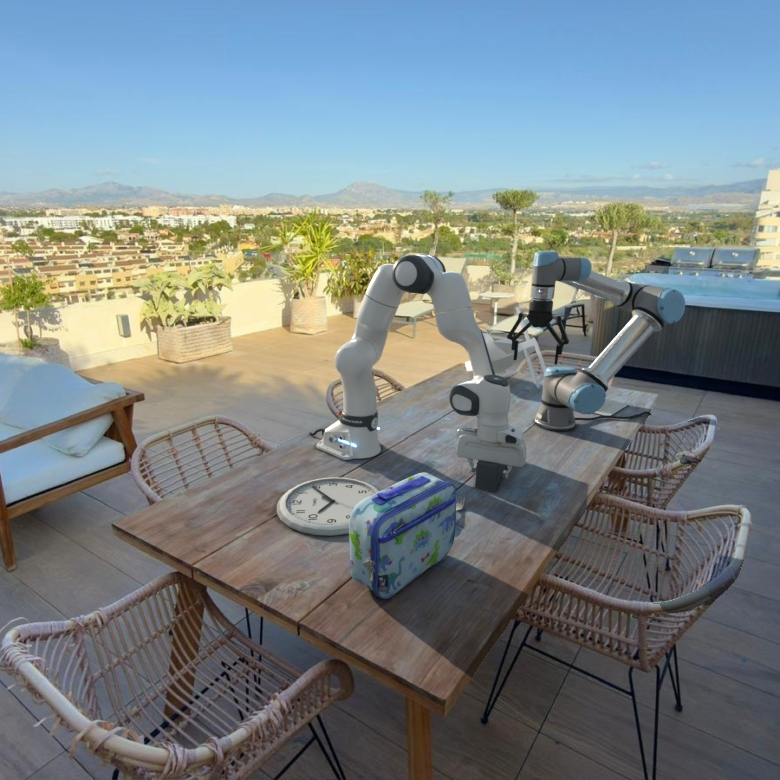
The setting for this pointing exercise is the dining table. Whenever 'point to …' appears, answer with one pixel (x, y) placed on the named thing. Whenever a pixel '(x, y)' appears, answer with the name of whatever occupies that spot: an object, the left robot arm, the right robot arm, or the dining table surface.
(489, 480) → the bar
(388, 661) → the dining table surface
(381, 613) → the dining table surface
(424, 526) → the lunch box
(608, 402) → the invitation card
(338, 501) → the wall clock
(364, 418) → the left robot arm
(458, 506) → the fork
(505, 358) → the white plastic object
